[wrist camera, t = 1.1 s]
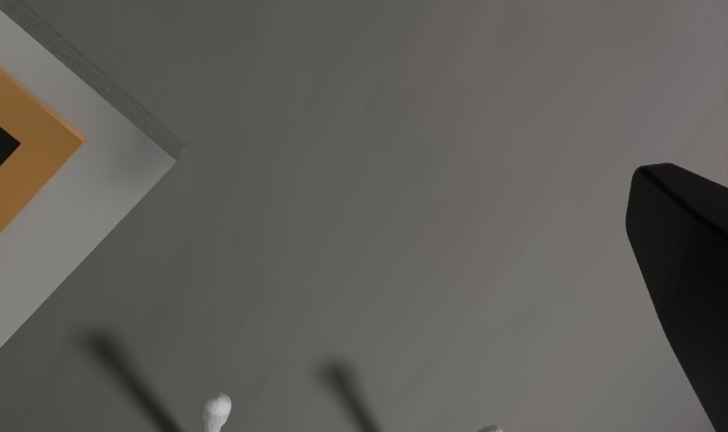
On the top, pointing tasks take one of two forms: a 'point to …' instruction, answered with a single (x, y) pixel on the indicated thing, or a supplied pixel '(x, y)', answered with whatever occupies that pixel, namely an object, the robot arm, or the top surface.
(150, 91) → the top surface
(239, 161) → the top surface
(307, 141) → the top surface
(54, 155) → the grey peg hole board
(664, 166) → the robot arm
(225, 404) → the wall mount rack
